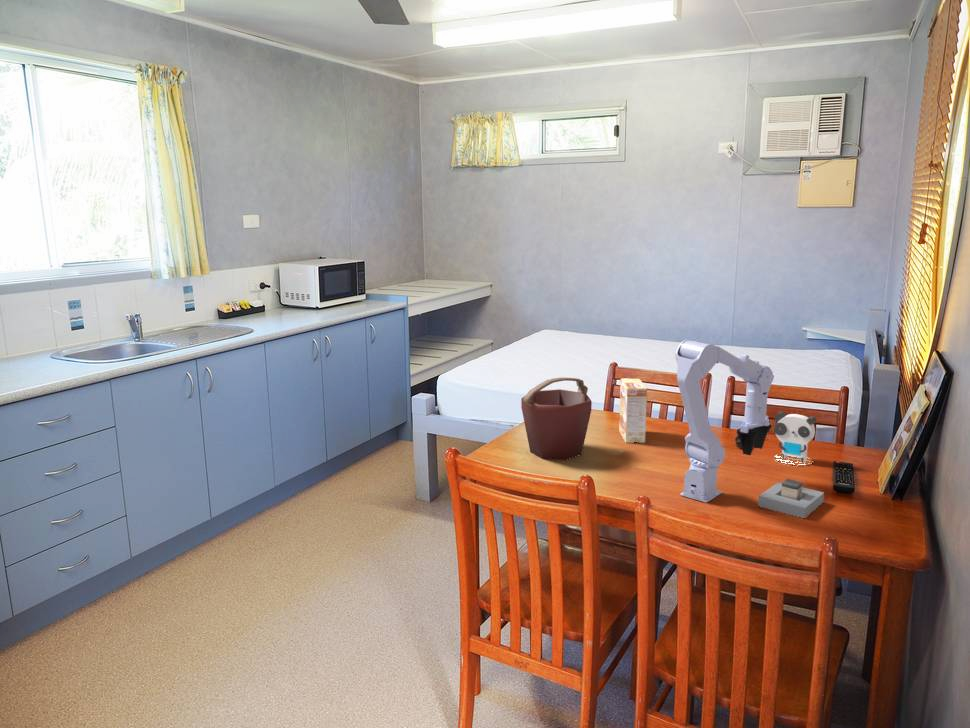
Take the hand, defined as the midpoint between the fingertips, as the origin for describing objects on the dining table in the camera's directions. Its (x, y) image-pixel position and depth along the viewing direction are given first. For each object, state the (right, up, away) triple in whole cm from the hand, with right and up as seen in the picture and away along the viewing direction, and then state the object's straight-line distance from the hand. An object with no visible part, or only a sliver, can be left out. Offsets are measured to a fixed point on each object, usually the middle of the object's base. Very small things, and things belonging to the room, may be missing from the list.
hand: (752, 451), depth 205 cm
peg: (+5, -12, -15) cm, 20 cm away
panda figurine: (+20, -6, +20) cm, 29 cm away
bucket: (-54, -4, +29) cm, 61 cm away
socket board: (+5, -13, -15) cm, 20 cm away
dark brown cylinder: (+11, -2, +37) cm, 39 cm away
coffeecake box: (-26, -1, +45) cm, 52 cm away
